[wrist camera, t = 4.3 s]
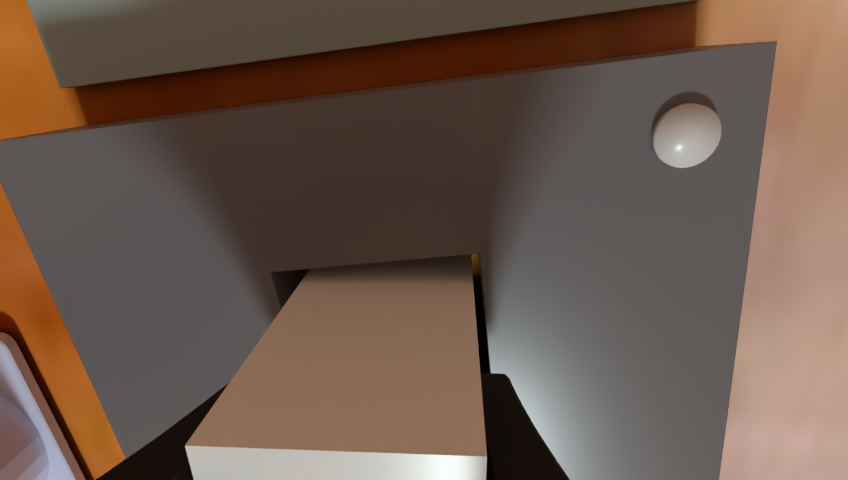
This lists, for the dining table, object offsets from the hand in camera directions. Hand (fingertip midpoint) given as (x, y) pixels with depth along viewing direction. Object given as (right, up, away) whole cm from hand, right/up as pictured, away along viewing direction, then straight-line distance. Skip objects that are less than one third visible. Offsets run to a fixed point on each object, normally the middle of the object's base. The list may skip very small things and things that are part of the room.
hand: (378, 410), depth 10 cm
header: (0, +2, +4) cm, 5 cm away
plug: (0, +1, +4) cm, 4 cm away
